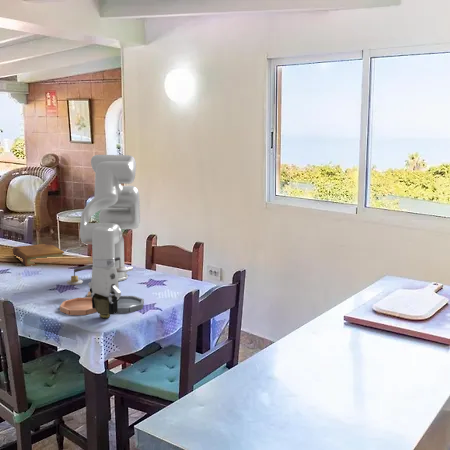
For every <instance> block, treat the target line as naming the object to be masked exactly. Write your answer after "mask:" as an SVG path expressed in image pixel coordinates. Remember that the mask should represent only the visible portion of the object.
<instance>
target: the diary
mask: <svg viewBox="0 0 450 450" xmlns="http://www.w3.org/2000/svg"><path fill="white" fill-rule="evenodd" d="M13 254H14V255H16V256H18V257H20V258H22V259H23V262H21V264H22V265H24V266H25V267H31V265H33V266H38V265H37V264H35V263H34V262H31V261H30V260H31V259H36V258H47V257H63V254H65V251H64V250H62V249H60V248H59V247H57V246H55V245H54V244H51V243H50V242H49V243H48V242H47V243H39V244H30V245H20V246H14V247H13V248H12V255H13Z"/></svg>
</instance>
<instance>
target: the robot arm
mask: <svg viewBox="0 0 450 450" xmlns="http://www.w3.org/2000/svg"><path fill="white" fill-rule="evenodd" d="M90 165H91V169H92V170H93V172H94V173H95V174H94V175H95V176H94V177H95V178H94V197H93V198H91V200H90V201H89V202H88V203H87V204H86V206H85V207H84V209H83V210H82V212H81V215H80V224H79V237H80V238H79V239H80V240H81V242H82V243H83V244H85V245H91V250H92V255H91V256H92V264H93V267H92V268H91V269H92V270H91V281H90V282H88V284H87V285H88V288H89V291H90V292H91V297H92V308H95V304H94V298H95V296H94V295H97V294H99V295H102V296H105V297H108V299H109V301H110V303H109V314H110V316H111V315H114V314H118V313H117V312H118V307H117V302H118V301H119V299H120V296H122V292H121V290H120V289H119V282H121V281H125V280H127V279H128V278H129V276H128V275H129V274H127V273H128V272H133V270H134V268H133V266H128V267H127V266H125V242H124V241H125V239H124V236H123V235H122V234H123V233H122V230H135V229H137V228H139V226H140V223H141V208H140V207H141V205H140V200H141V199H140V192H139V189H138V188H137V187H136V186H134V185H129V184H132V183H134V182H135V178H136V171H137V163H136V159H135V157H134V156H133V155H129V154H126V155H125V154H95V155H93V156H92V157H91V159H90ZM123 184H128V185H123ZM98 212H99V214H98V221H99V222H95V223H94V222H90V219H91V218H92V216H93V215H95V214H97V213H98ZM117 257H120V260H118V261H115V258H117ZM116 267H126V268H128V271H126V272H117V270H116ZM111 297H114V298H113V299H112V298H111Z"/></svg>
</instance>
